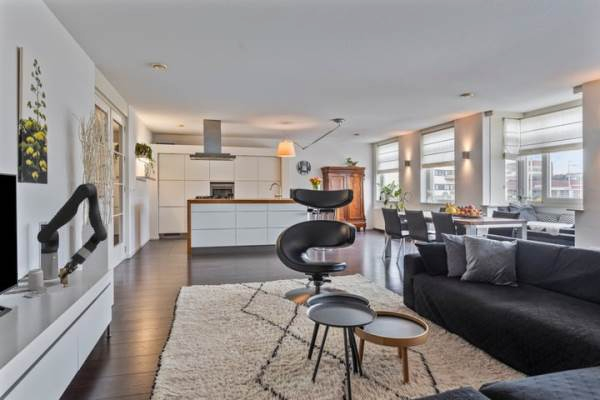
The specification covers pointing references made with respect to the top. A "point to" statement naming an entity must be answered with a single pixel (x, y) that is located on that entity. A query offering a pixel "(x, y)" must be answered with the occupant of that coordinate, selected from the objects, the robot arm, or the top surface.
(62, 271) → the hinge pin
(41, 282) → the can
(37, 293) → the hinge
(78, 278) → the top surface
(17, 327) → the top surface
